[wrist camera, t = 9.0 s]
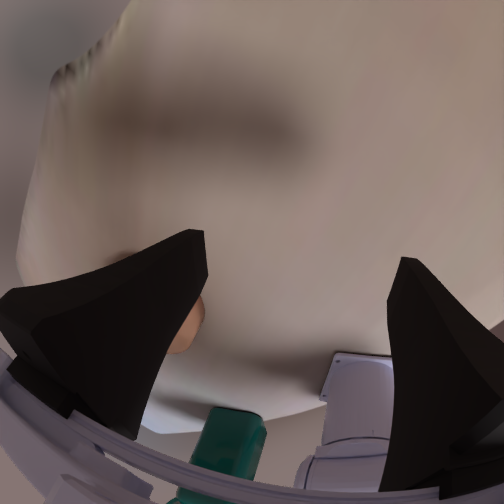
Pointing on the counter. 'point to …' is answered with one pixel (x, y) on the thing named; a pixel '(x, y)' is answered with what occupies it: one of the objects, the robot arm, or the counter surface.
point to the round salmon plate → (188, 329)
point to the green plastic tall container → (226, 450)
